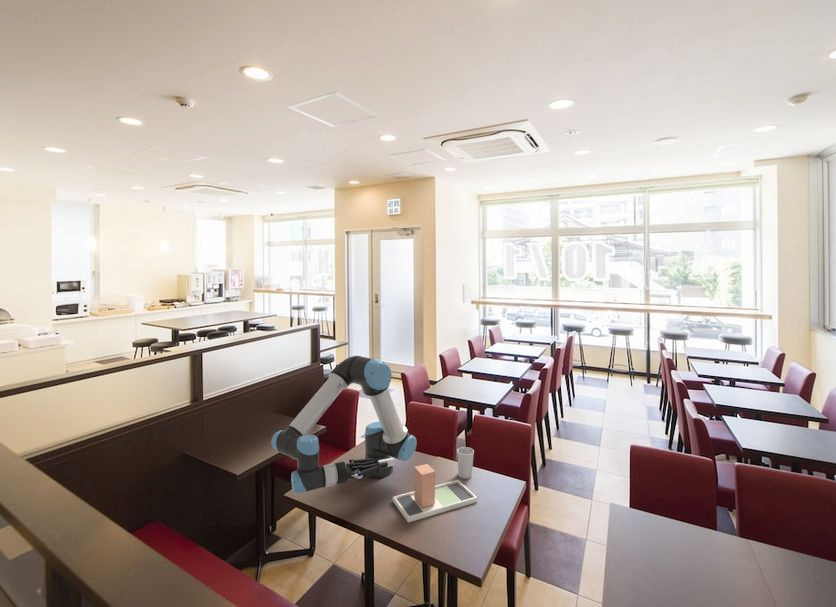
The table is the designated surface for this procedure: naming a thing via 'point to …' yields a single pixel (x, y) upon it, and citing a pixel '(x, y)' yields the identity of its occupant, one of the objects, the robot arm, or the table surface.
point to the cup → (465, 462)
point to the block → (424, 485)
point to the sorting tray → (445, 500)
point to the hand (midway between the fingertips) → (394, 461)
